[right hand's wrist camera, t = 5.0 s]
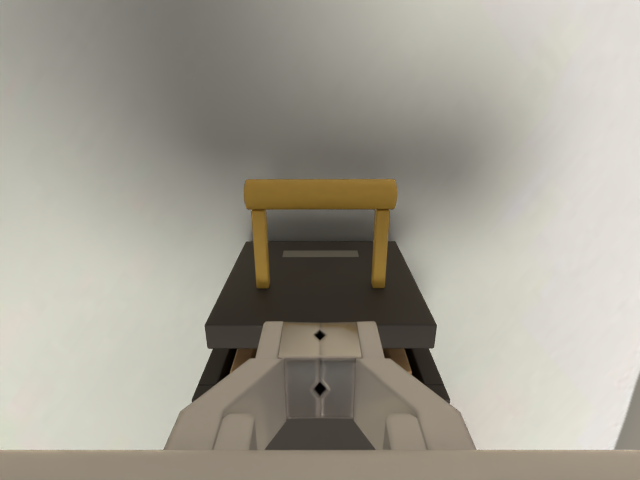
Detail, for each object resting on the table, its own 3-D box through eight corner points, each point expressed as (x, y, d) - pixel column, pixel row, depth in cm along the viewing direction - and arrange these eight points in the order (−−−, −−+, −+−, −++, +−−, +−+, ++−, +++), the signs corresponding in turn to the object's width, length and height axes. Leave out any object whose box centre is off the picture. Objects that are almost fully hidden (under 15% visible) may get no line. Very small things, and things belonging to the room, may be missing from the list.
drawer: (239, 157, 23) (187, 199, 14) (401, 157, 23) (453, 199, 14) (262, 467, 32) (241, 611, 23) (379, 467, 32) (401, 611, 23)
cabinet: (242, 276, 27) (190, 399, 16) (398, 276, 27) (450, 399, 16) (260, 491, 34) (233, 671, 24) (381, 491, 34) (409, 671, 24)
